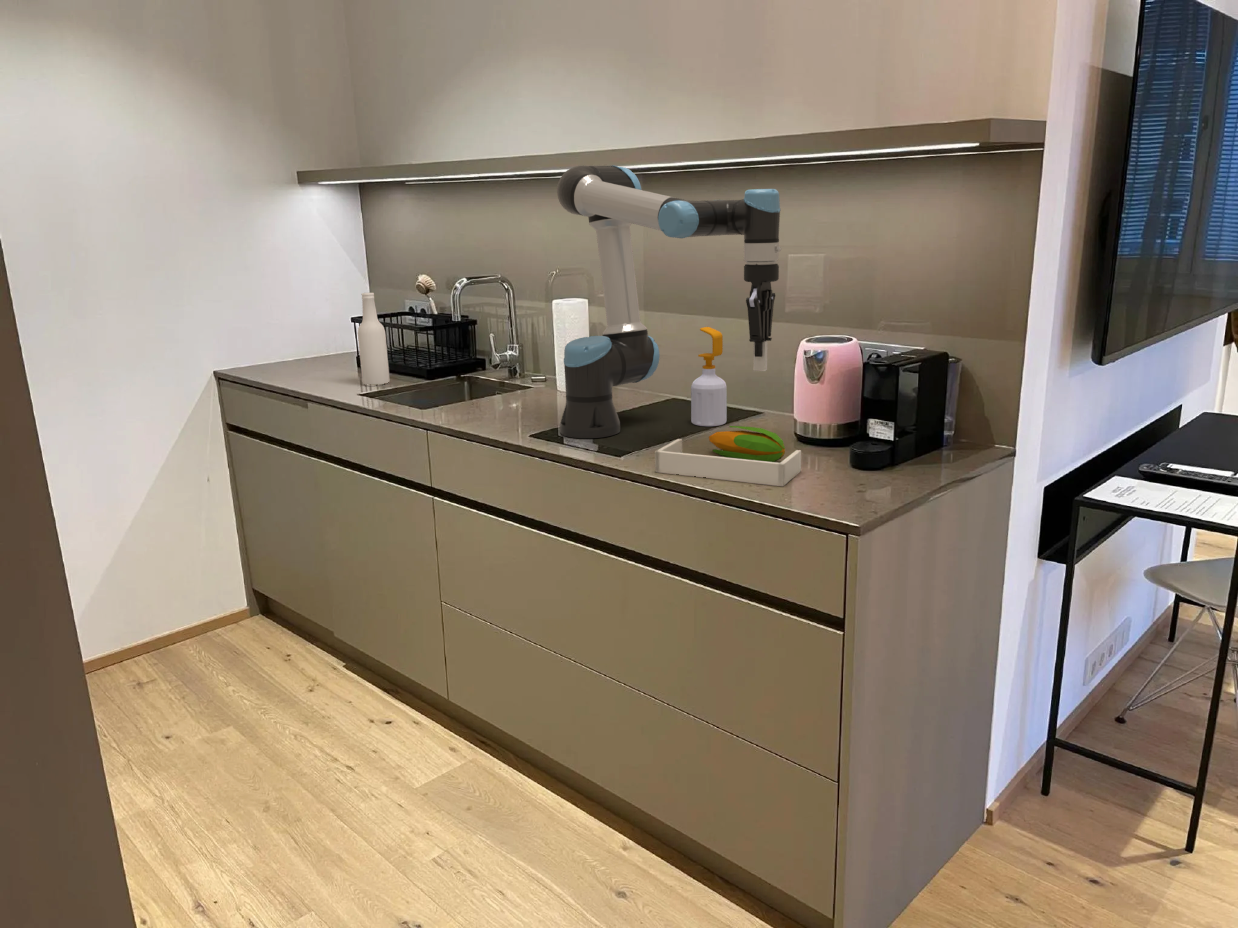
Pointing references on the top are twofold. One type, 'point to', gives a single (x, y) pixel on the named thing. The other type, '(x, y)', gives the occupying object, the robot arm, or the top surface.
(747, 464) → the tray
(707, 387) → the soap bottle
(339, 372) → the top surface
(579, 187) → the robot arm
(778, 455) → the corn
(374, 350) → the alcohol
